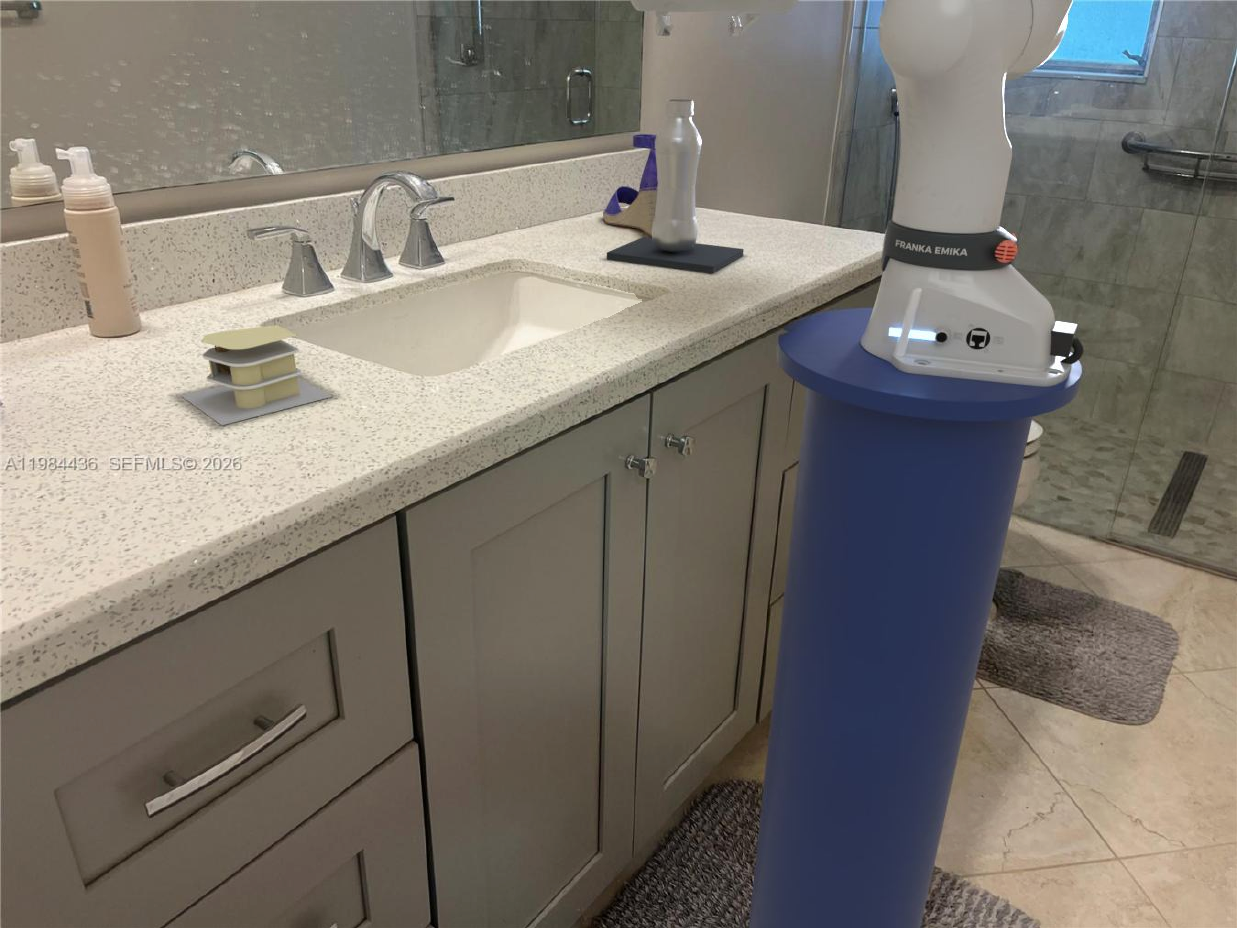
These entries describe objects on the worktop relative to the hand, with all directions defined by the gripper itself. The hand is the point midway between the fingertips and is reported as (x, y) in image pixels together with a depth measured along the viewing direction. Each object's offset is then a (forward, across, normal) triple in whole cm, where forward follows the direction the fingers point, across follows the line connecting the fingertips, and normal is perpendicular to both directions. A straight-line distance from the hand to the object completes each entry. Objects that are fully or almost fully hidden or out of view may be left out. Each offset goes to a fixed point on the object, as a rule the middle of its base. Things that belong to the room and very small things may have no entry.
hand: (698, 32), depth 116 cm
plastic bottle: (+26, +1, -15) cm, 30 cm away
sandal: (+42, +2, 0) cm, 42 cm away
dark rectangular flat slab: (+26, +1, -15) cm, 30 cm away
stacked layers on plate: (-4, -53, -46) cm, 70 cm away
